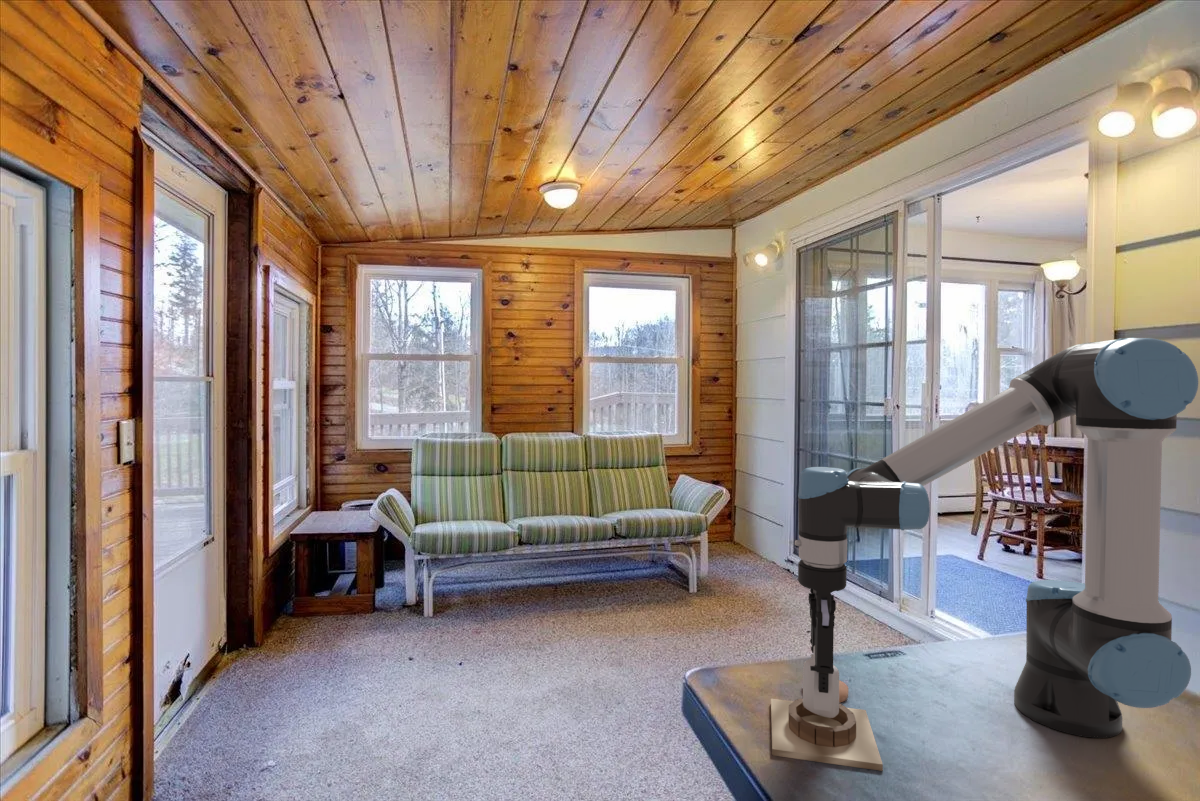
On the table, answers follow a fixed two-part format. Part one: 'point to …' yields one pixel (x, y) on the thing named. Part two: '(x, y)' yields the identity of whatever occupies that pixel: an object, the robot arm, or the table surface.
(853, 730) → the ring collar
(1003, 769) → the table surface
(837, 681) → the eye dropper bottle
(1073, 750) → the table surface
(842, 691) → the peach domed part
